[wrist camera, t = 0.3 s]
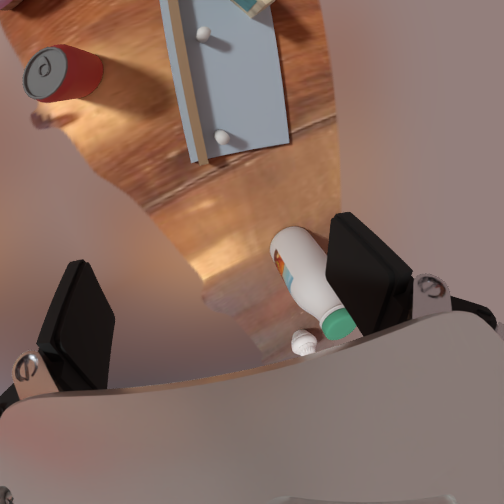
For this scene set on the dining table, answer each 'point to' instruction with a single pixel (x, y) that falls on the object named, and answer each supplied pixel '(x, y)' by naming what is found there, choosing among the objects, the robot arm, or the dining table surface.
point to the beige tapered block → (252, 6)
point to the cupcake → (8, 4)
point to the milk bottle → (310, 280)
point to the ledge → (225, 77)
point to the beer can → (61, 74)
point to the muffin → (303, 342)
